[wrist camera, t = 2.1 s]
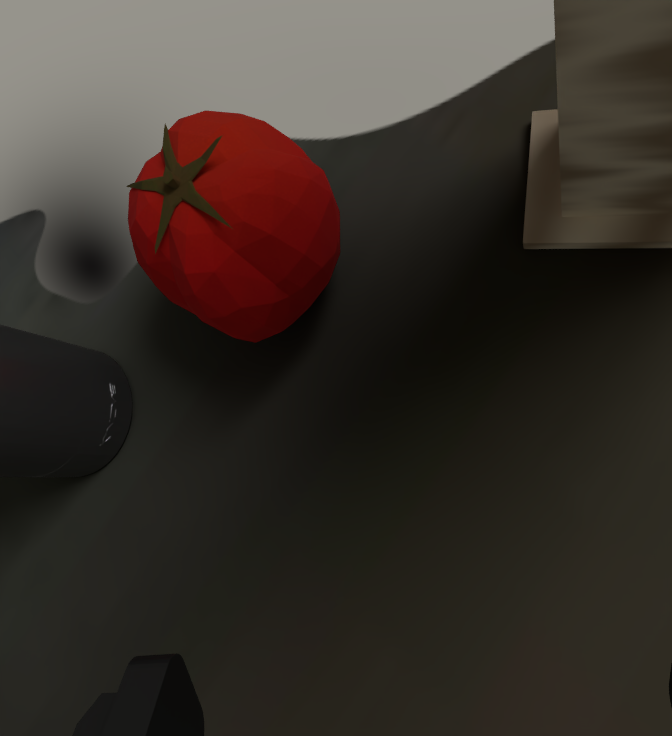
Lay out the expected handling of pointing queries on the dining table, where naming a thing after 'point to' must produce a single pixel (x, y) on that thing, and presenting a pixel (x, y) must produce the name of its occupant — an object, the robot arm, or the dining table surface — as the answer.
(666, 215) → the birch plinth
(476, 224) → the dining table surface
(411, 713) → the dining table surface
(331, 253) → the tomato
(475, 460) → the dining table surface
